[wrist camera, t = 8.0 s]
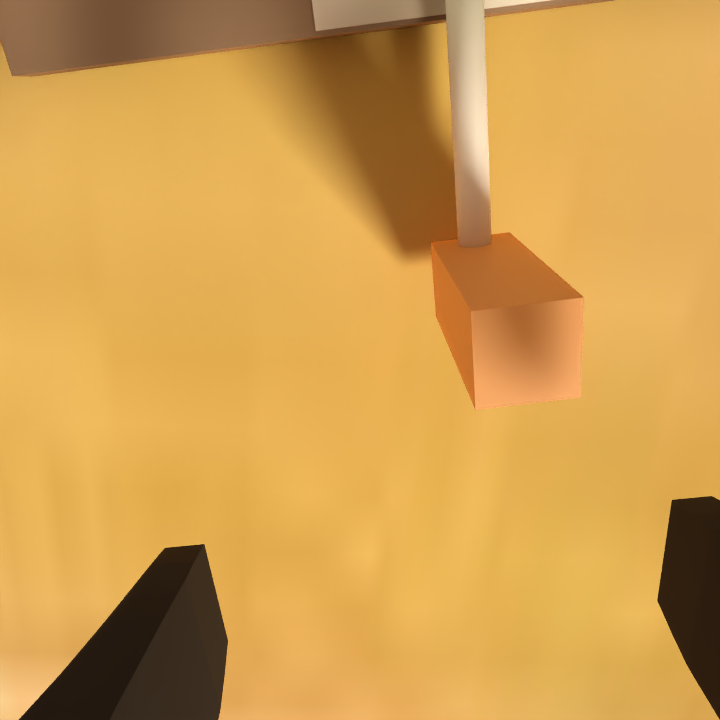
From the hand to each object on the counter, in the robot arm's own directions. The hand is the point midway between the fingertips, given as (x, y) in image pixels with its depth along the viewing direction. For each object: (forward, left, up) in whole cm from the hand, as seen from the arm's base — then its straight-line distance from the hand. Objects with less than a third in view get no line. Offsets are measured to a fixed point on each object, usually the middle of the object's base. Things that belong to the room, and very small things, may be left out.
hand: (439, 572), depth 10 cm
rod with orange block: (+2, +8, -8) cm, 12 cm away
